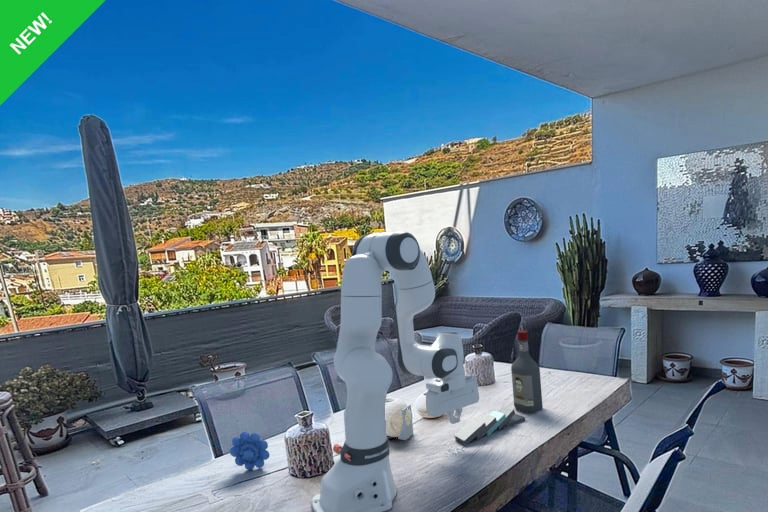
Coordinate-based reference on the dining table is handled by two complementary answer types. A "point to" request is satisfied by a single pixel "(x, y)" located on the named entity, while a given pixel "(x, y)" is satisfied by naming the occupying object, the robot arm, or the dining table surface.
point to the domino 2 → (489, 423)
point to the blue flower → (249, 450)
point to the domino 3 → (500, 418)
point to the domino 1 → (470, 431)
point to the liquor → (526, 379)
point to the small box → (406, 430)
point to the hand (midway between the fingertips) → (455, 422)
